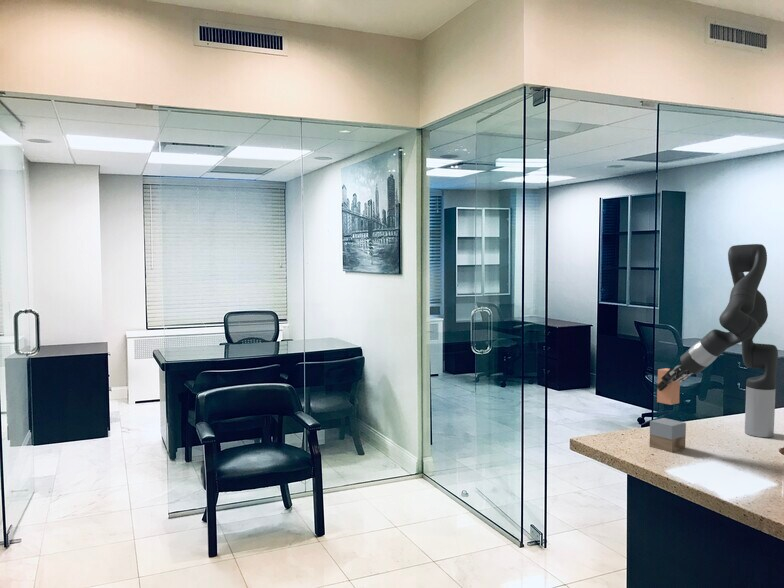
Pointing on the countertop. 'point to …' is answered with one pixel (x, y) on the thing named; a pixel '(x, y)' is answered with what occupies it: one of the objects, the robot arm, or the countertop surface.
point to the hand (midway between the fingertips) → (663, 387)
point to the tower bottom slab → (667, 443)
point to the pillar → (668, 390)
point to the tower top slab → (667, 428)
